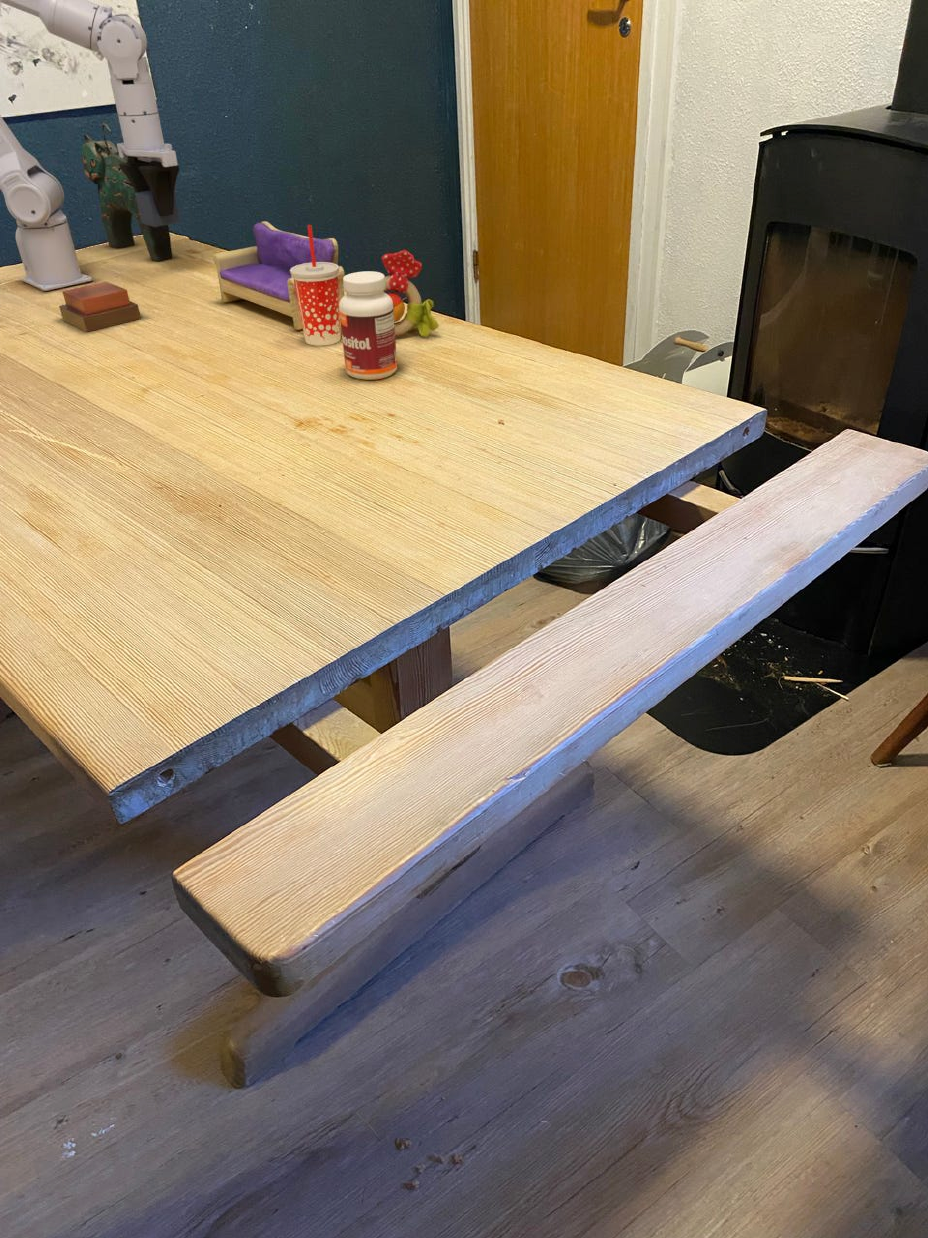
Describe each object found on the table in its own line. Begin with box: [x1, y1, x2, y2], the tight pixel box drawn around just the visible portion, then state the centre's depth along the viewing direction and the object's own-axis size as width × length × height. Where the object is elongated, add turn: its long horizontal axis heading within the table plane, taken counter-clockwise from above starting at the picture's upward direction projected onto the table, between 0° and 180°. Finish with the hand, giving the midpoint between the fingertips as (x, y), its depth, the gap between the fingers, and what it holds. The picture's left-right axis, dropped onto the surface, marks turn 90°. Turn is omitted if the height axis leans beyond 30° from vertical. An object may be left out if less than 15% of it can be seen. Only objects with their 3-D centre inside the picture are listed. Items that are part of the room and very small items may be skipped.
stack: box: [58, 281, 142, 333], centre depth 127 cm, size 8×8×4 cm
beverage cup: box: [290, 224, 342, 347], centre depth 114 cm, size 6×6×14 cm
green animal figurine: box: [80, 122, 173, 262], centre depth 154 cm, size 20×6×20 cm, turn 44°
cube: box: [135, 190, 181, 227], centre depth 140 cm, size 4×4×4 cm
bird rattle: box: [381, 249, 439, 338], centre depth 115 cm, size 6×11×9 cm
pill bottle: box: [339, 270, 398, 381], centre depth 104 cm, size 6×6×11 cm
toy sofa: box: [212, 221, 346, 331], centre depth 126 cm, size 21×9×10 cm, turn 42°
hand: (158, 213), depth 140 cm, fingers closed on cube, 4 cm apart
